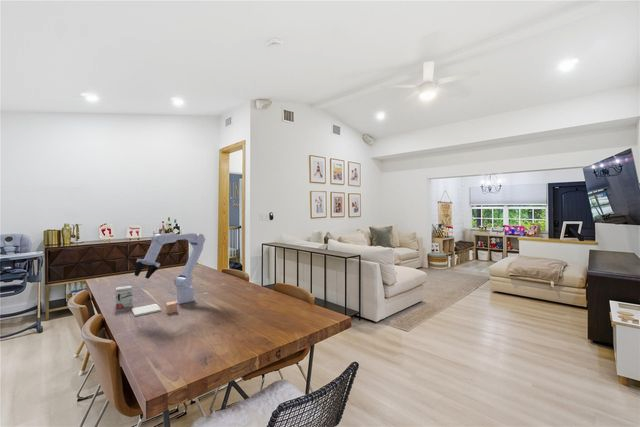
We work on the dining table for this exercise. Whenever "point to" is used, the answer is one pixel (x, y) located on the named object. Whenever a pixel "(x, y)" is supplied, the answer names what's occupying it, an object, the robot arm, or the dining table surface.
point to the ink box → (124, 297)
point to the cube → (171, 307)
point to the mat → (146, 309)
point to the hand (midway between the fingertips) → (141, 277)
